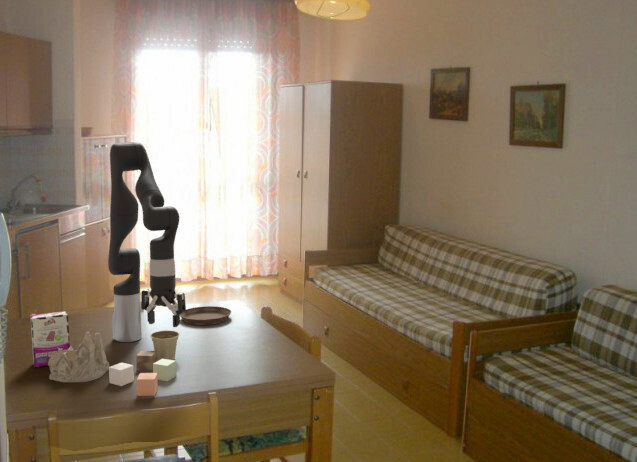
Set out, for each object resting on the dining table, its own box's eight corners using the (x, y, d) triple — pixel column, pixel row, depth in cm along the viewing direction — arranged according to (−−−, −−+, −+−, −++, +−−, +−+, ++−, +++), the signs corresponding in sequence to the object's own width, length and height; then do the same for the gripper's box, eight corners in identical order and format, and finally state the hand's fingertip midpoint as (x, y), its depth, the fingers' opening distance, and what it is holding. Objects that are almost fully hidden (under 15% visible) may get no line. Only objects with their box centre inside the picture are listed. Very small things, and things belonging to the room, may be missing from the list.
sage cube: (153, 379, 202) (153, 363, 202) (162, 373, 207) (162, 358, 206) (167, 381, 201) (167, 365, 200) (176, 376, 205) (176, 360, 204)
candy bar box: (69, 358, 220) (66, 310, 217) (71, 363, 215) (68, 314, 213) (32, 363, 215) (29, 314, 212) (33, 368, 210) (31, 318, 208)
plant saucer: (169, 319, 268) (169, 311, 268) (212, 310, 282) (212, 303, 282) (197, 330, 253) (197, 322, 253) (241, 320, 267) (241, 312, 267)
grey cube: (109, 383, 199) (108, 367, 198) (122, 378, 203) (121, 362, 202) (121, 386, 196) (120, 370, 196) (133, 381, 201) (133, 365, 200)
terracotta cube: (137, 396, 189) (136, 379, 189) (140, 389, 194) (139, 373, 193) (154, 395, 190) (154, 379, 189) (157, 389, 195) (157, 372, 194)
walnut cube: (136, 370, 210) (136, 355, 209) (142, 365, 215) (141, 350, 214) (152, 371, 209) (151, 356, 208) (157, 365, 214) (156, 350, 213)
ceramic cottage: (117, 365, 213) (111, 321, 210) (89, 386, 197) (82, 338, 195) (74, 364, 216) (68, 320, 214) (43, 385, 201) (36, 337, 198)
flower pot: (185, 356, 223) (184, 331, 221) (170, 365, 214) (169, 340, 213) (161, 353, 226) (160, 329, 224) (145, 362, 217) (144, 337, 216)
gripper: (135, 273, 198) (136, 325, 200) (176, 277, 193) (177, 330, 195) (149, 268, 205) (151, 319, 207) (189, 272, 200) (190, 324, 202)
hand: (163, 325), depth 201 cm, fingers open, 8 cm apart
